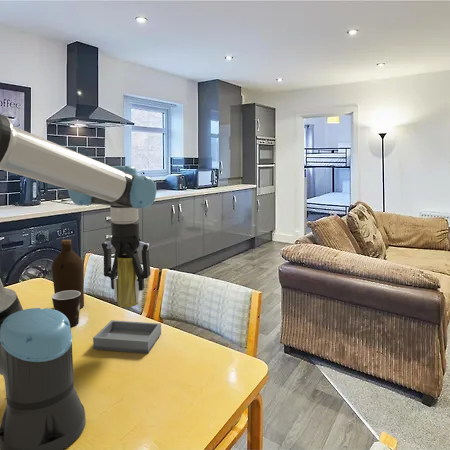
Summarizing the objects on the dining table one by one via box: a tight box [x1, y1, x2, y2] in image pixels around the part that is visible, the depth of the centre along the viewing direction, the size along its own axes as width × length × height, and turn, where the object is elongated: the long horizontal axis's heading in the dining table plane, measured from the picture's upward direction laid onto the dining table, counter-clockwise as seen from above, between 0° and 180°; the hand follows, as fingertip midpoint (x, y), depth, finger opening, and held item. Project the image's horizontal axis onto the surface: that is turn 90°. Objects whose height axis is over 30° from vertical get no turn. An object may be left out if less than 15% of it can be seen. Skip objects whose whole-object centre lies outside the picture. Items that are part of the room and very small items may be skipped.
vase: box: [117, 254, 139, 308], centre depth 106 cm, size 6×6×14 cm
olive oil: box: [51, 238, 85, 310], centre depth 133 cm, size 11×11×25 cm
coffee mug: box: [51, 290, 81, 328], centre depth 121 cm, size 12×9×10 cm
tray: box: [92, 319, 162, 355], centre depth 109 cm, size 12×16×4 cm
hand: (128, 300), depth 108 cm, fingers closed on vase, 6 cm apart
